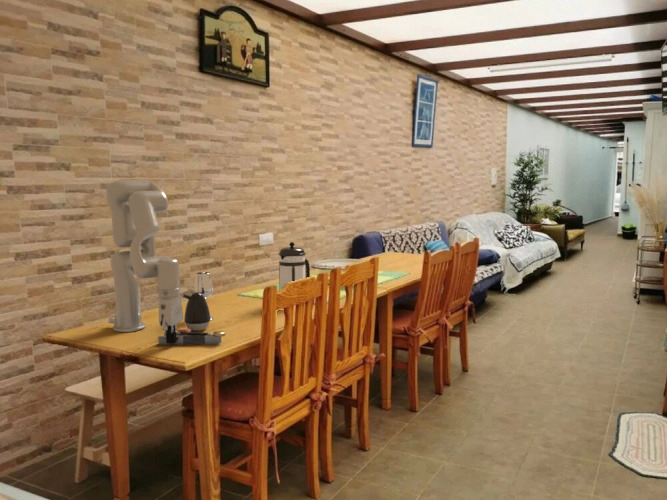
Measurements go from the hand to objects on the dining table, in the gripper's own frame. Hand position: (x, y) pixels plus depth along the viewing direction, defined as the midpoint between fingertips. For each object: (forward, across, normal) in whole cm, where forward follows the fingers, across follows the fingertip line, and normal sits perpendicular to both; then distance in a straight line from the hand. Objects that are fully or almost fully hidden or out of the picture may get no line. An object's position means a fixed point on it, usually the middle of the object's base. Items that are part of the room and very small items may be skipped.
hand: (171, 342), depth 207 cm
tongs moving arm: (+1, +4, -5) cm, 6 cm away
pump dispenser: (+1, +23, 0) cm, 23 cm away
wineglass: (+1, +40, +5) cm, 41 cm away
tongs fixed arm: (+1, +6, -6) cm, 9 cm away
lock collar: (+1, +10, -1) cm, 10 cm away
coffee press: (+1, +76, -26) cm, 80 cm away
